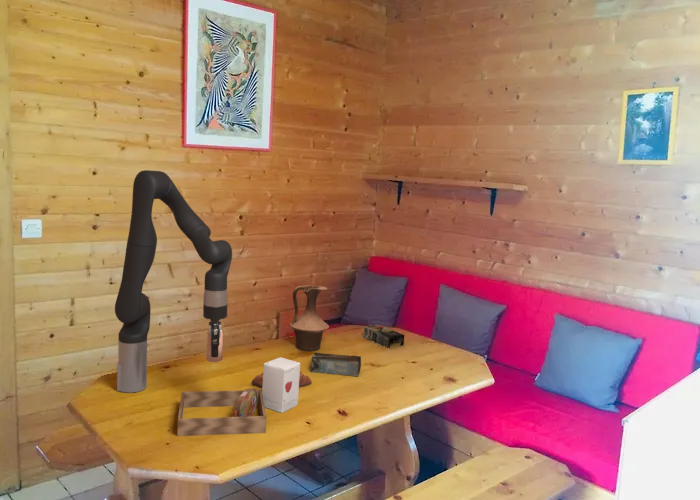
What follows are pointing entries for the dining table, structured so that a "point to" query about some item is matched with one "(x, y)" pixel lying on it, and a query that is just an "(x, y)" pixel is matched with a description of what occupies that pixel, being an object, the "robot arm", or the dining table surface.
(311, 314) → the pitcher
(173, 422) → the dining table surface
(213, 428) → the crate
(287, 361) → the supplement box
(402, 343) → the dark slotted box
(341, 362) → the beverage carton
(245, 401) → the tin
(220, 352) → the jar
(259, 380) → the pastry
